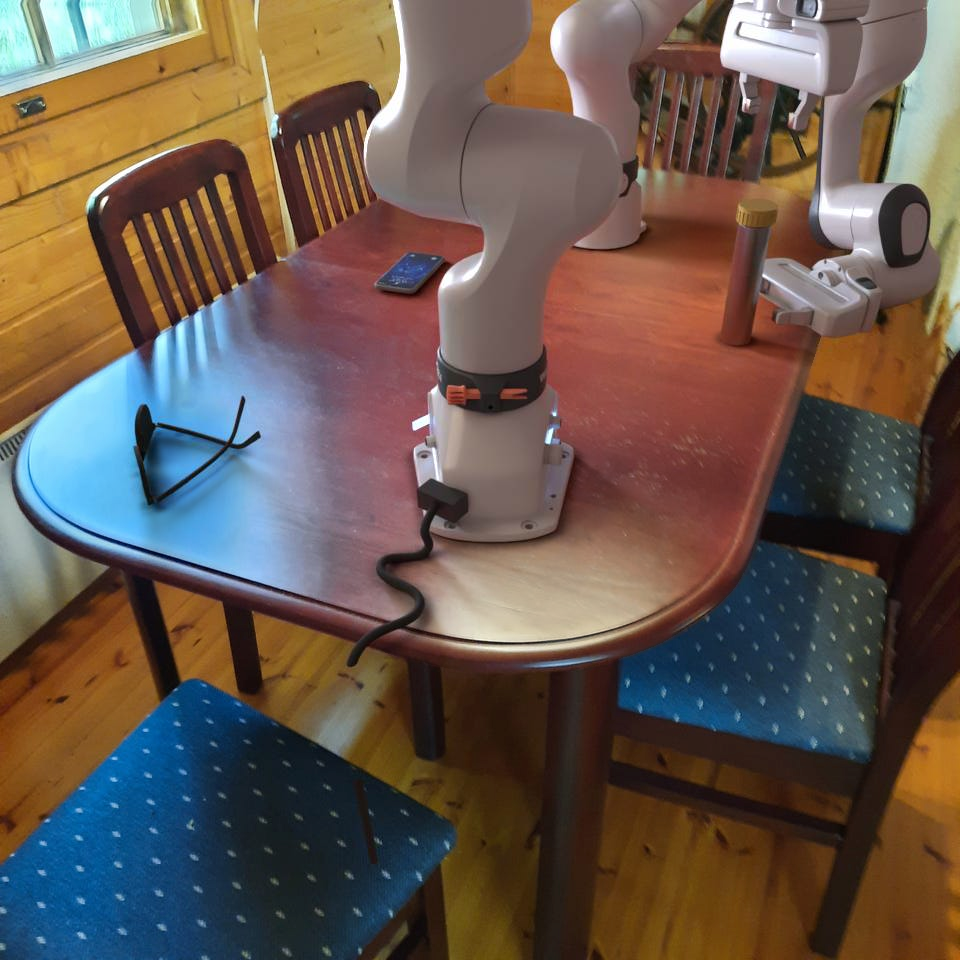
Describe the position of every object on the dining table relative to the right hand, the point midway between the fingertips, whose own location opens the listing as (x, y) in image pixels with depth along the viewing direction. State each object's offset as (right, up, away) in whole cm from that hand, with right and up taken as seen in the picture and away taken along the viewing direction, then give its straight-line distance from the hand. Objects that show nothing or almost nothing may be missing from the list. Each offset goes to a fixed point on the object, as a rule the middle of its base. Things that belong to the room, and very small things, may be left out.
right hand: (755, 303), depth 121 cm
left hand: (-3, +19, -16) cm, 25 cm away
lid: (-3, +11, -9) cm, 14 cm away
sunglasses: (-72, -22, -19) cm, 78 cm away
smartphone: (-51, +9, +23) cm, 56 cm away
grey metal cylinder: (-2, -5, +2) cm, 6 cm away
